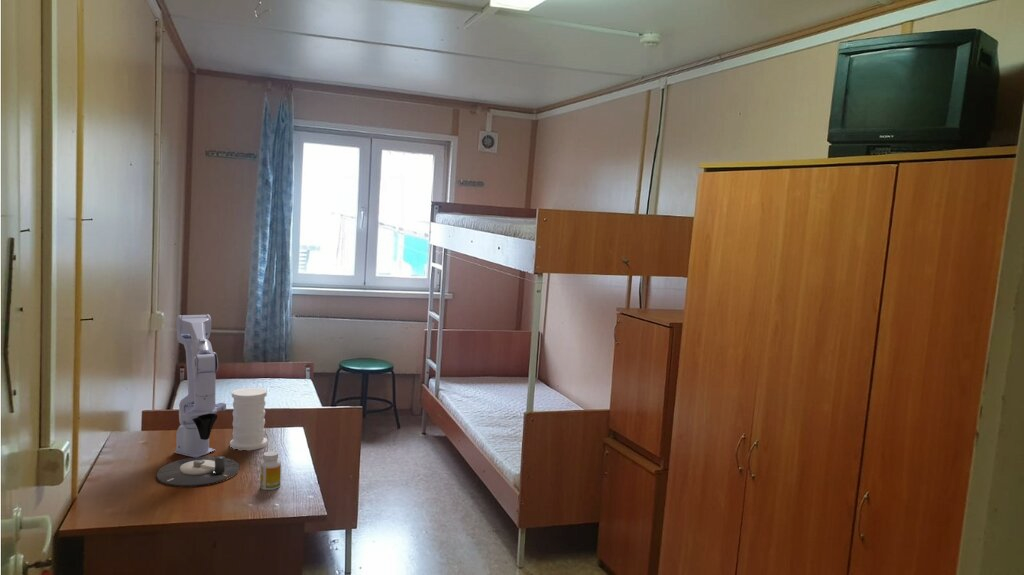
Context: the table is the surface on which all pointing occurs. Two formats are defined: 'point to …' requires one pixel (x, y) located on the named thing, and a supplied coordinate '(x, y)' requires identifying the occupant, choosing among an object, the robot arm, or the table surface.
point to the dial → (203, 466)
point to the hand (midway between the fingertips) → (204, 438)
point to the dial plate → (174, 477)
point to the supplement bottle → (270, 471)
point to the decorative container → (248, 419)
